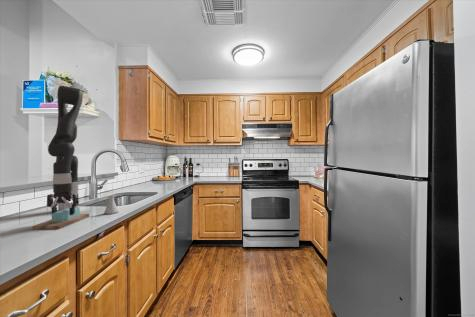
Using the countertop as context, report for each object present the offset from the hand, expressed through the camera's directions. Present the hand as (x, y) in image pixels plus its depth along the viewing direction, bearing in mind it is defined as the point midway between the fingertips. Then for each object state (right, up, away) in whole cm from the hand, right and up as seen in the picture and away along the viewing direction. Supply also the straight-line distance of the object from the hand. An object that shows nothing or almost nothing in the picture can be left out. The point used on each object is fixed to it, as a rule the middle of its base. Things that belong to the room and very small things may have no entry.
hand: (63, 215), depth 121 cm
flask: (+14, -3, +19) cm, 24 cm away
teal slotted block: (0, -2, +2) cm, 3 cm away
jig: (0, -4, 0) cm, 4 cm away
